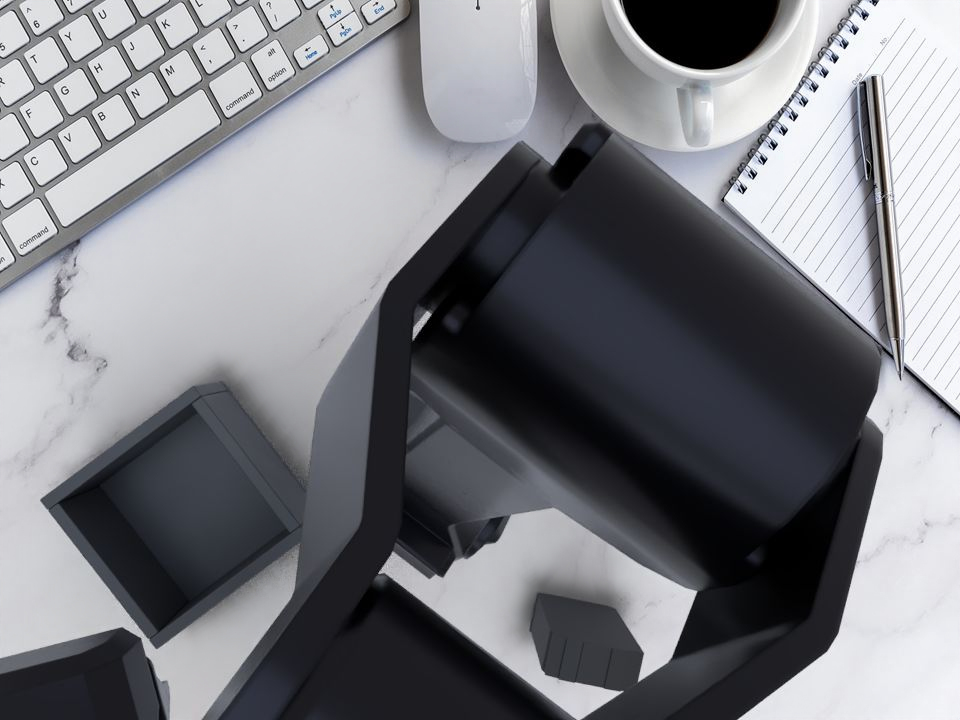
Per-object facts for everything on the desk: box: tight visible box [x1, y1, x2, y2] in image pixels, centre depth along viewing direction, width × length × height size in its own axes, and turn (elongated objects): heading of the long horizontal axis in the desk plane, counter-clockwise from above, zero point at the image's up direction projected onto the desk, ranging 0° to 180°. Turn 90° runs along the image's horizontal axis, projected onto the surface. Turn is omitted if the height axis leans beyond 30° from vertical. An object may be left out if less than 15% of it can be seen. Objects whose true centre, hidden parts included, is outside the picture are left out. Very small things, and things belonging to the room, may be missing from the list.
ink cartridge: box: [528, 591, 645, 693], centre depth 48 cm, size 5×2×8 cm, turn 77°
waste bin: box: [39, 380, 307, 650], centre depth 48 cm, size 10×10×6 cm
